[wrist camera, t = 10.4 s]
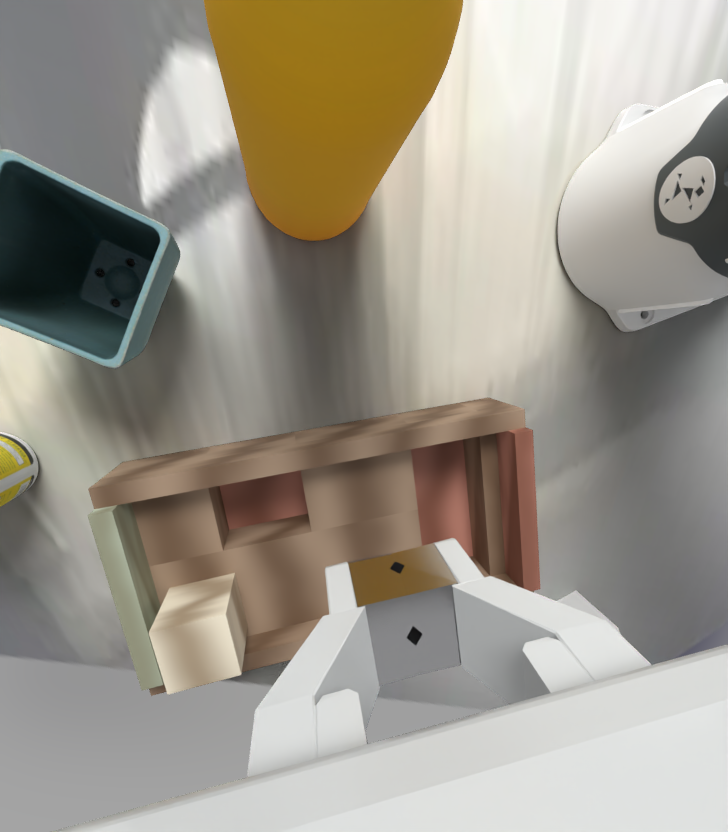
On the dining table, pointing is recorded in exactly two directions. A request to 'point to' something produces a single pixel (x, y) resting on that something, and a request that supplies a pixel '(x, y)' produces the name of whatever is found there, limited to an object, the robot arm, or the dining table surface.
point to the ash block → (200, 633)
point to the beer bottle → (326, 97)
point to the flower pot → (78, 265)
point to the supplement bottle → (15, 467)
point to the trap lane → (314, 516)
